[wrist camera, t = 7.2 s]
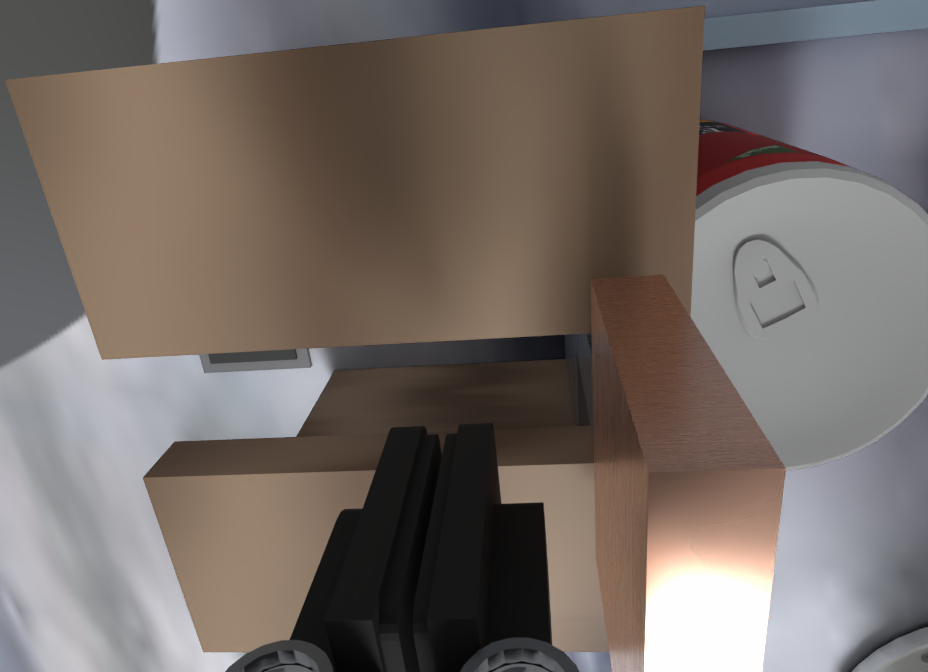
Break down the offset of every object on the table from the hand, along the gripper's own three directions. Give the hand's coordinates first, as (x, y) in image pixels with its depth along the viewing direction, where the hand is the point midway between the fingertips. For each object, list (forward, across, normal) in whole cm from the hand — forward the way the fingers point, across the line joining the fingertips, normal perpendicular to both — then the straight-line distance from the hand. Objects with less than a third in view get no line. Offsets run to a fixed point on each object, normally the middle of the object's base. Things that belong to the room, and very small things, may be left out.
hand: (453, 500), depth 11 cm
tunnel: (+17, +2, 0) cm, 17 cm away
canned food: (+17, -7, 0) cm, 19 cm away
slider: (+17, -4, 0) cm, 17 cm away
